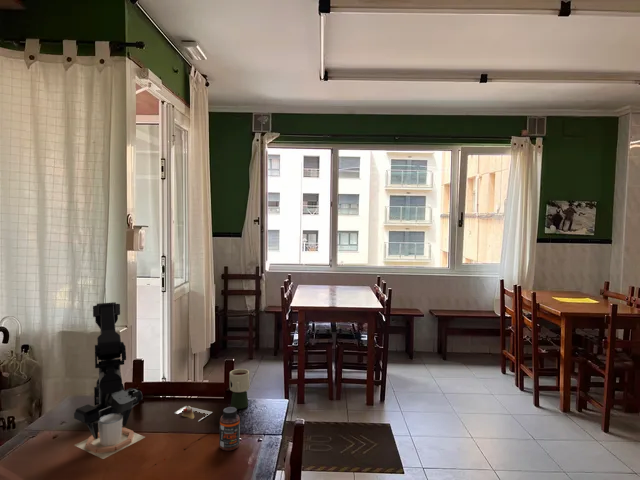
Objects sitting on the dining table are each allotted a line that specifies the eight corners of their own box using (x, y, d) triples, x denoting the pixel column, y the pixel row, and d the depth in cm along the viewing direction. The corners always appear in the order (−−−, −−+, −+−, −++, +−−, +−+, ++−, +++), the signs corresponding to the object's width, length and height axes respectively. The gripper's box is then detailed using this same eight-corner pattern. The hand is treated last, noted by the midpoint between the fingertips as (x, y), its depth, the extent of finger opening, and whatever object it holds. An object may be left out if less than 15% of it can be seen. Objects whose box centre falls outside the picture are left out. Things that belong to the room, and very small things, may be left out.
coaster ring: (78, 444, 127) (78, 441, 127) (116, 427, 138) (116, 424, 138) (103, 456, 121) (103, 453, 121) (141, 437, 132) (141, 434, 132)
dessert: (161, 423, 144) (161, 409, 144) (185, 408, 156) (185, 395, 155) (189, 430, 140) (189, 416, 140) (212, 415, 151) (212, 401, 151)
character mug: (231, 401, 161) (231, 367, 161) (250, 400, 162) (250, 366, 161) (227, 414, 150) (227, 377, 150) (247, 413, 151) (247, 377, 150)
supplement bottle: (222, 453, 125) (222, 415, 125) (217, 443, 131) (217, 407, 130) (242, 448, 128) (242, 411, 128) (236, 439, 134) (236, 403, 133)
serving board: (74, 449, 127) (73, 445, 127) (117, 429, 139) (117, 425, 139) (103, 463, 120) (103, 459, 120) (145, 440, 132) (145, 437, 132)
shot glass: (113, 448, 125) (112, 424, 125) (92, 445, 127) (92, 422, 126) (128, 436, 132) (128, 414, 132) (108, 433, 134) (108, 412, 133)
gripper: (96, 398, 116) (97, 454, 117) (153, 376, 132) (154, 425, 133) (72, 389, 122) (73, 443, 123) (130, 369, 138) (131, 417, 139)
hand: (110, 431), depth 129 cm, fingers open, 9 cm apart
